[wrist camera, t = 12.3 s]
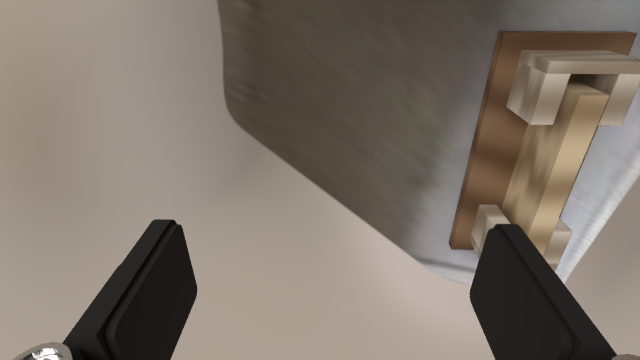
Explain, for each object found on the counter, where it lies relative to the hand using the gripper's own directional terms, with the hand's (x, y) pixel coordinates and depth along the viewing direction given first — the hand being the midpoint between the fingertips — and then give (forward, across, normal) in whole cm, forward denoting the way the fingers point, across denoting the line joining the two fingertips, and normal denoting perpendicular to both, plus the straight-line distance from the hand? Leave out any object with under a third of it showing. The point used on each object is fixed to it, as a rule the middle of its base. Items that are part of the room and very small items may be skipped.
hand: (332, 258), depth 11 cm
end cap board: (+28, -22, +10) cm, 37 cm away
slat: (+27, -22, +10) cm, 36 cm away
